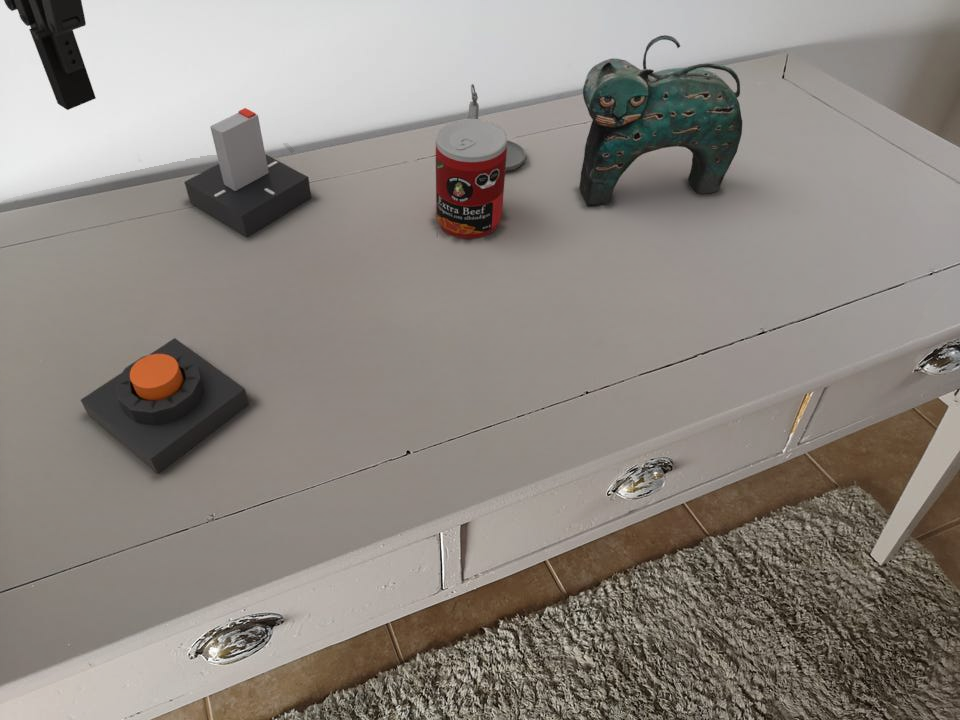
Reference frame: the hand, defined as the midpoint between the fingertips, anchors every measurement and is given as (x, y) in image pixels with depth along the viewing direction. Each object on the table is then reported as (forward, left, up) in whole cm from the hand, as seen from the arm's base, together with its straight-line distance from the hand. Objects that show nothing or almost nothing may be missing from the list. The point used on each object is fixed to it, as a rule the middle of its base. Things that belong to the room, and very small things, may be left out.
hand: (76, 100), depth 67 cm
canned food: (+20, +31, -21) cm, 42 cm away
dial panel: (-2, +17, -21) cm, 27 cm away
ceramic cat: (+33, +50, -21) cm, 63 cm away
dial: (-2, +17, -17) cm, 24 cm away
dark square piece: (+17, -9, -21) cm, 28 cm away
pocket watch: (+14, +43, -21) cm, 50 cm away
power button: (+17, -9, -17) cm, 26 cm away
